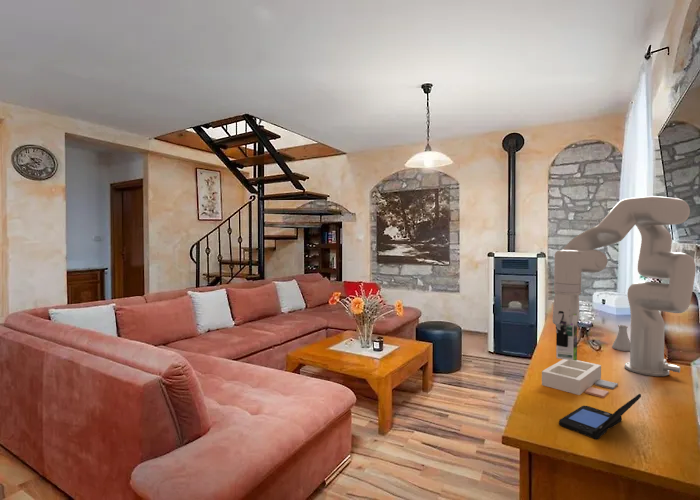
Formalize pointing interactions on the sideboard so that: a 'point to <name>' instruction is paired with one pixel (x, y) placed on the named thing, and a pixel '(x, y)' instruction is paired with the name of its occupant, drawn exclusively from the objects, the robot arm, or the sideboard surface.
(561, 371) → the socket block
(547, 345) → the sideboard surface
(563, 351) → the syrup box
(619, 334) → the flask
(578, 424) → the game console
